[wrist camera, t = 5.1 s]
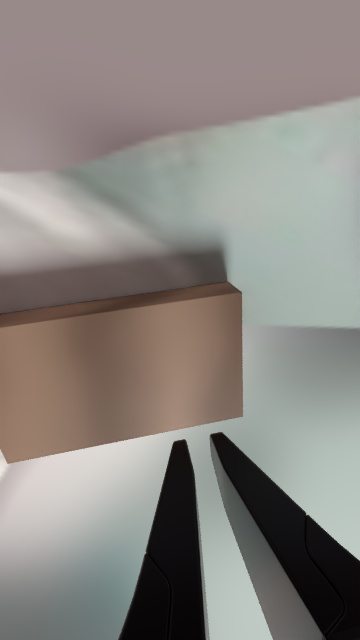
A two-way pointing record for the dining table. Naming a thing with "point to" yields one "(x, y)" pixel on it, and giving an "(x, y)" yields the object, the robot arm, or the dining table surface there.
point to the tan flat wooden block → (119, 369)
